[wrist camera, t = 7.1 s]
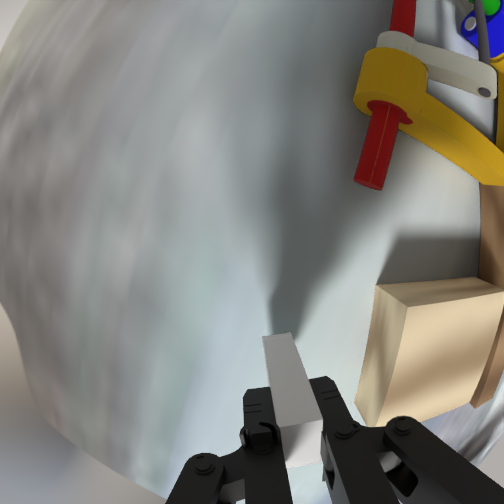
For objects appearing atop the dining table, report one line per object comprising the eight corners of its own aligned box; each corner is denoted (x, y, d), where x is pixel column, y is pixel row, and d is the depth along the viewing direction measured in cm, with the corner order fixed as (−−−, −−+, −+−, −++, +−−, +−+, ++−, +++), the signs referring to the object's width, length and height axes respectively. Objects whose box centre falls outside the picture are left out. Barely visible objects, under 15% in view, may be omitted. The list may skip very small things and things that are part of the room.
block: (373, 283, 16) (407, 307, 12) (470, 275, 16) (506, 290, 12) (352, 399, 18) (371, 436, 14) (444, 376, 18) (469, 401, 14)
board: (478, 174, 14) (513, 174, 11) (496, 175, 15) (528, 176, 11) (454, 387, 18) (475, 408, 15) (471, 378, 18) (492, 397, 15)
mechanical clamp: (373, 163, 8) (403, -109, 3) (323, 172, 14) (383, -77, 9) (560, 287, 10) (547, 4, 4) (508, 265, 16) (516, 17, 10)
